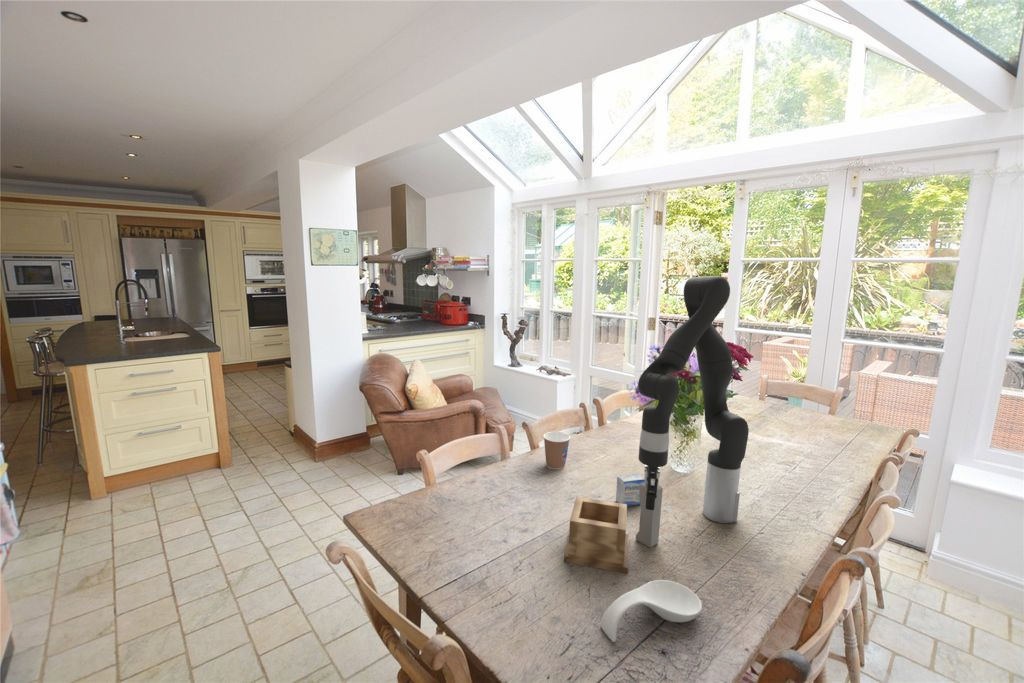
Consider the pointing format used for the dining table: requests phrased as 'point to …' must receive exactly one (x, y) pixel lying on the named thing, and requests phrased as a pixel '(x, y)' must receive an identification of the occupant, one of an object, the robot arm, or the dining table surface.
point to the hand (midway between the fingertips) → (649, 503)
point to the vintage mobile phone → (649, 518)
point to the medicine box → (628, 489)
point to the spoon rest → (654, 604)
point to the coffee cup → (556, 449)
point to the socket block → (598, 535)
